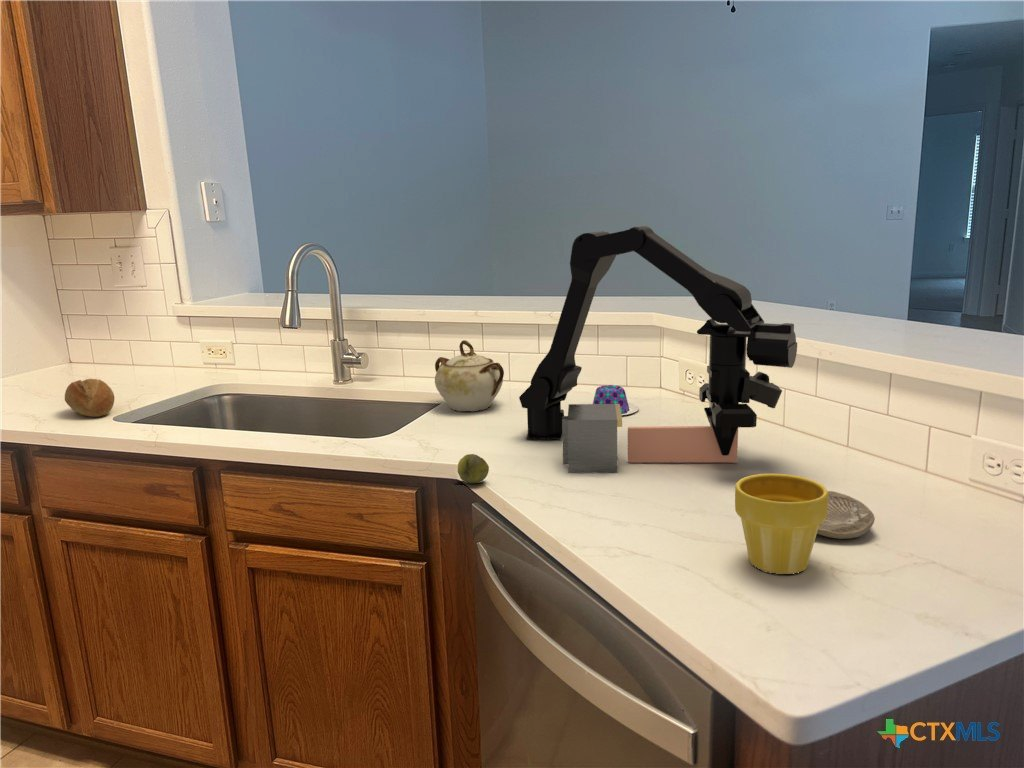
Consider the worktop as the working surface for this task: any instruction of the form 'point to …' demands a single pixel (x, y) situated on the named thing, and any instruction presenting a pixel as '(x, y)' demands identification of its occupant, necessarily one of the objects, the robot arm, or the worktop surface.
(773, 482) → the plant pot
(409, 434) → the worktop surface
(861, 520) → the fossil
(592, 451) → the grey upright box
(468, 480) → the lime
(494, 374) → the sugar bowl
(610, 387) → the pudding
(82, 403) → the bread roll
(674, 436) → the salmon pink plank
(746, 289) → the robot arm
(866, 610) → the worktop surface
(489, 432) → the worktop surface
